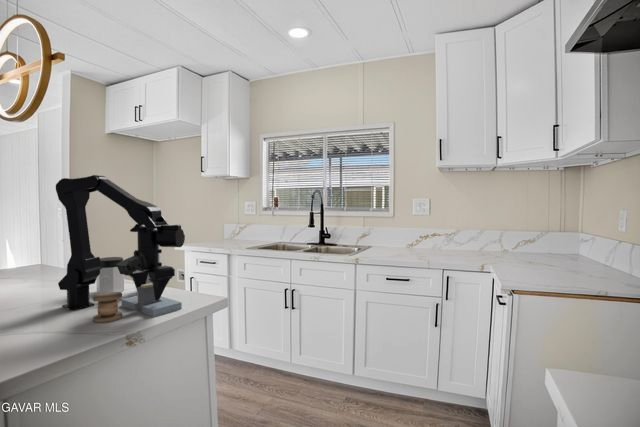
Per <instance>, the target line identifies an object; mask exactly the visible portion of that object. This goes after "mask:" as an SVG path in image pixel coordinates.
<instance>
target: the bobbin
mask: <svg viewBox="0 0 640 427" xmlns="http://www.w3.org/2000/svg"><path fill="white" fill-rule="evenodd" d="M122 298H123V293H122V292H106V293H101V294H98V293H97V294H94V295H93V296H92V301H93V302H97V314H96V315H94V316H93V317H92V321H94V322H93V323H96V322H97V323H96V324H105V323H106V324H107V323H111V322H115V321H119V320H120V319H122V318H123V312H120V311H119V304H118V302H119V301H118V300H119V299H122Z"/></svg>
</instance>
